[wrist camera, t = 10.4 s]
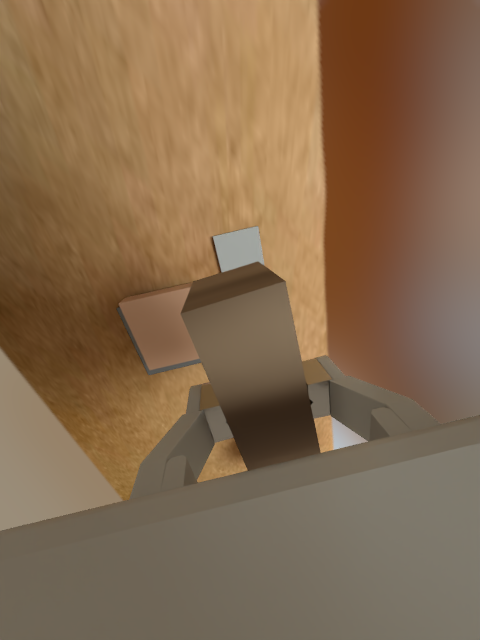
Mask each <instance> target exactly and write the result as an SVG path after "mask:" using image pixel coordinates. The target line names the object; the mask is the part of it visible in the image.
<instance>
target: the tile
mask: <svg viewBox="0 0 480 640" xmlns="http://www.w3.org/2000/svg"><path fill="white" fill-rule="evenodd" d="M192 283H193V282H192ZM192 283H187V284H183V285H179V286H174V287H170V288H166V289H161V290H157V291H152V292H148V293H144V294H139V295H135V296H131V297H126V298H124V299H123V300H122V301H121V302H120V303H118V304H119V306H120V308H121V310H122V313H123V315H124V317H125V319H126V321H127V323H128V325H129V328H130V330H131V332H132V334H133V336H134V338H135V340H136V342H137V345H138V347H139V349H140V351H141V353H142V355H143V357H144V360H145V362H146V364H147V366H148V368H149V370H153V369H158V368H162V367H166V366H170V365H174V364H179V363H183V362H187V361H191V360H196V359H200V358H199V356H198V354H197V351H196V349H195V347H194V344H193V342H192V340H191V337H190V335H189V333H188V330H187V328H186V326H185V323H184V321H183V319H182V316H181V314H180V313H181V311H182V308H183V306H184V303H185V301H186V298H187V296H188V293H189V291H190V288H191V286H192Z"/></svg>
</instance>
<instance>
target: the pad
mask: <svg viewBox="0 0 480 640" xmlns="http://www.w3.org/2000/svg"><path fill="white" fill-rule="evenodd" d="M213 239H214V243H215V247H216V251H217V255H218V260H219V264H220V268H221V272H225V271H229V270H232V269H235V268H238V267H241V266H245V265H248V264H251V263H254V262H257V261H259V262H260V263H261V264H263V265H264V260H263V254H262V248H261V241H260V235H259V229H258V226H255V227H251V228H247V229H242V230H238V231H234V232H229V233H225V234H221V235H216V236H213Z"/></svg>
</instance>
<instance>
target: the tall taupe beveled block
mask: <svg viewBox="0 0 480 640" xmlns="http://www.w3.org/2000/svg"><path fill="white" fill-rule="evenodd" d="M180 314H181V316H182V319H183V321H184V323H185V326H186V328H187V330H188V333H189V335H190V337H191V340H192V342H193V344H194V347H195V349H196V351H197V354H198V356H199V358H200V360H201V363H202V365H203V367H204V370H205V372H206V374H207V377H208V379H209V381H210V384H211V386H212V388H213V391H214V393H215V395H216V398H217V400H218V402H219V405H220V407H221V409H222V411H223V414H224V416H225V418H226V421H227V423H228V425H229V428H230V430H231V432H232V435H233V437H234V439H235V442H236V444H237V446H238V449H239V451H240V453H241V456H242V458H243V460H244V463H245V465H246V467H247V469H248V471H249V470H253V469H257V468H262V467H266V466H270V465H274V464H278V463H282V462H286V461H290V460H295V459H299V458H303V457H307V456H311V455H315V454H319V453H320V448H319V443H318V438H317V433H316V428H315V424H314V419H313V414H312V409H311V404H310V399H309V394H308V389H307V384H306V380H305V375H304V370H303V365H302V360H301V355H300V350H299V345H298V341H297V336H296V331H295V326H294V321H293V316H292V311H291V306H290V302H289V297H288V292H287V287H286V282H285V281H284V280H283V279H282V278H280V277H279V276H278V275H276V274H275V273H274V272H272V271H271V270H269V269H268V268H267V267H265V266H264V265H263V264H261V263H260V262H259V261H257V262H254V263H251V264H248V265H245V266H241V267H238V268H235V269H232V270H229V271H225V272H222V273H219V274H216V275H213V276H209V277H206V278H203V279H200V280H197V281H193V283H192V286H191V288H190V291H189V293H188V296H187V298H186V301H185V303H184V306H183V308H182V311H181V313H180Z"/></svg>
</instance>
